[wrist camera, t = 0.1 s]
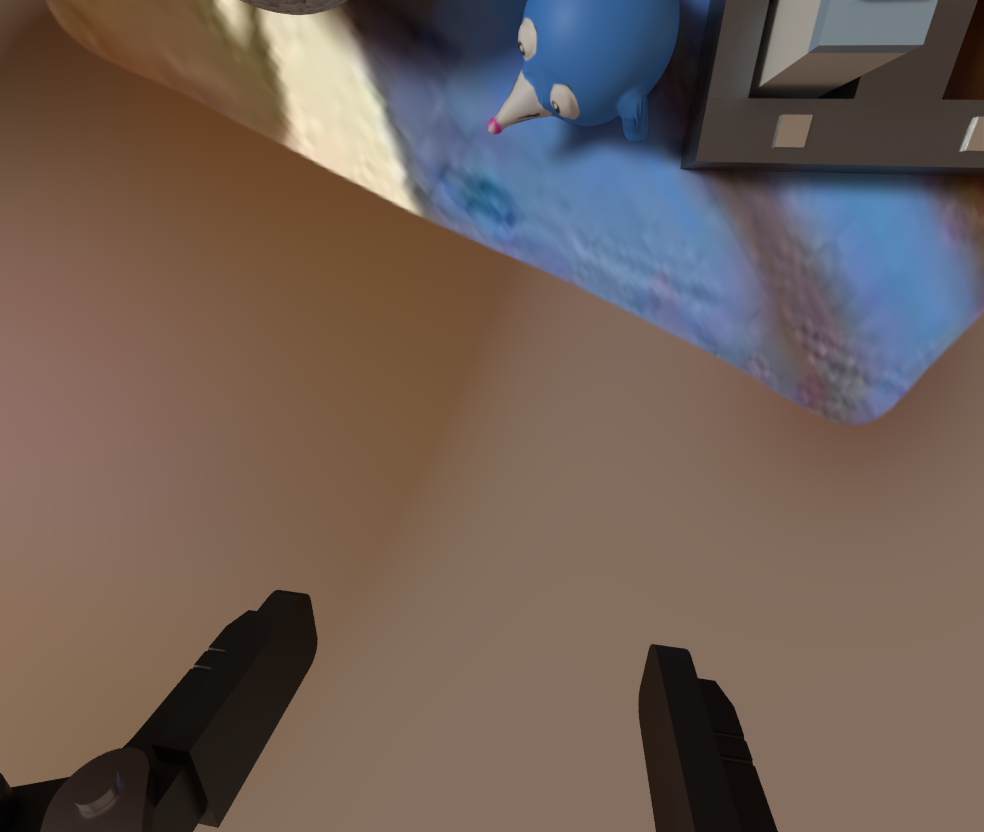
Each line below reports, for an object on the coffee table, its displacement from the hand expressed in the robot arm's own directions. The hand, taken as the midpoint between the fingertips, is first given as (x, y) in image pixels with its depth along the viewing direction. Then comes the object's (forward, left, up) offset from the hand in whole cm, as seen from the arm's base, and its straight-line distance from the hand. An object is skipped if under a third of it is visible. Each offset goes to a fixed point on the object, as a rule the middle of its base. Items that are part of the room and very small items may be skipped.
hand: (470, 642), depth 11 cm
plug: (-19, +14, -29) cm, 37 cm away
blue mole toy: (-18, +1, -29) cm, 34 cm away
